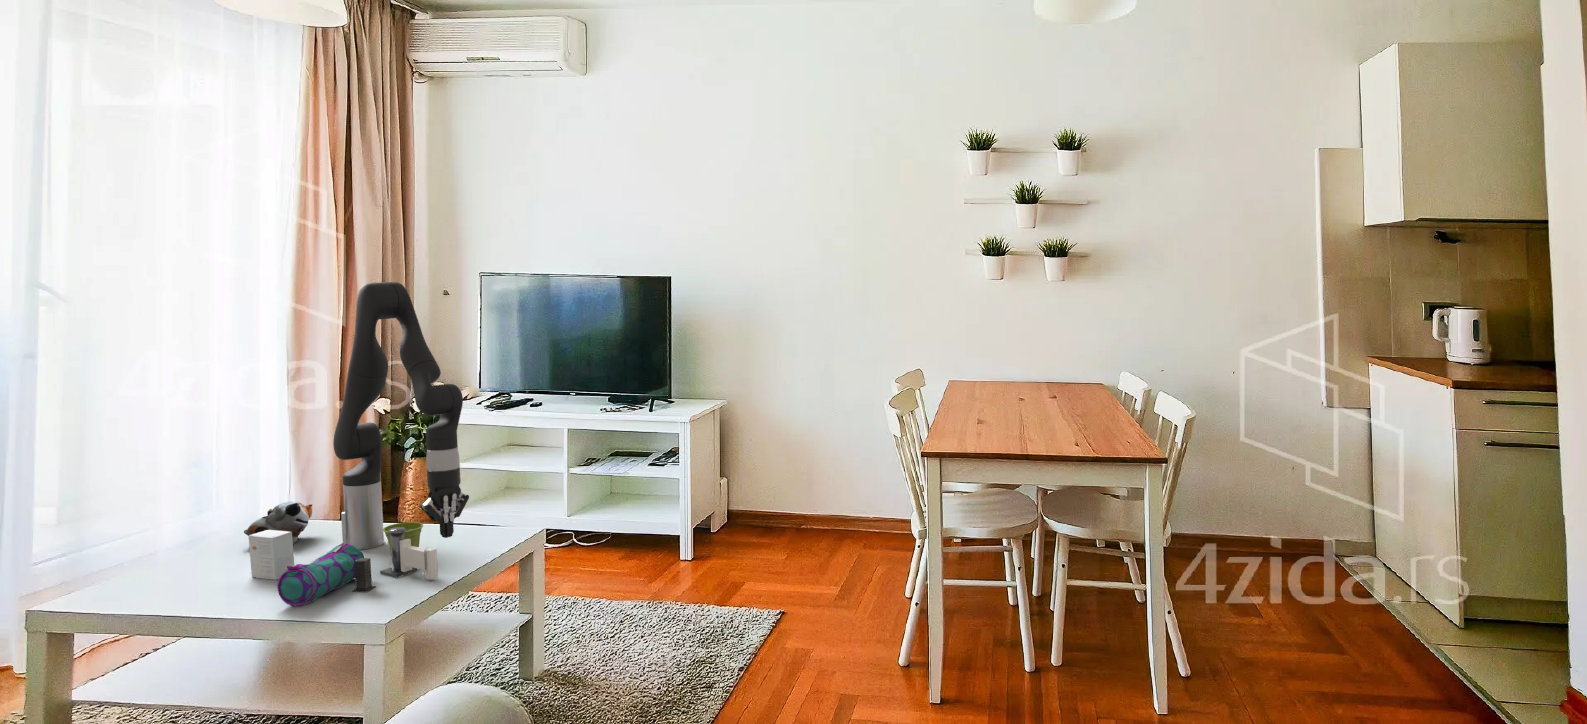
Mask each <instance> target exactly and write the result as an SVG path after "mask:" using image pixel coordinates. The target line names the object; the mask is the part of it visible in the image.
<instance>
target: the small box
mask: <svg viewBox="0 0 1587 724" xmlns="http://www.w3.org/2000/svg"><path fill="white" fill-rule="evenodd" d="M248 546H249V547H248V548H249V559H250V561H249V562H250V570H251V572H250V573H251V578H254V577H256V578H257V579H265V580H275V581H278V580H279V578H280V576H281V575H282V574H283V573H284V572H285V571H286V570H288V568H287V566H295V565H296V564H295V555H294V544H293V540H292V532H288V531H276V530H265V531H262V532H259V533H255V534H252V535H249V536H248ZM256 578H255V579H256Z"/></svg>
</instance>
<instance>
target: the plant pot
mask: <svg viewBox="0 0 1587 724" xmlns="http://www.w3.org/2000/svg"><path fill="white" fill-rule="evenodd" d="M396 527H404V528H405V532H404V539H411V546H415V547H420V540H421V539H420V538H421V533H422V529H423V527H424V523H421V522H417V521H409V522H408V521H407V522H398V523H393V524H390V525H387V526H385V527H383V533H385V537H386V539H387V543H388V547H389V550H390V551H389V552H390V553H391V538H390V534H388V530H389V529H391V528H396Z"/></svg>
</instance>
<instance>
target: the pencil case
mask: <svg viewBox="0 0 1587 724" xmlns="http://www.w3.org/2000/svg"><path fill="white" fill-rule="evenodd" d="M364 555H365V554H364V553H363V551H362V549H358V548H357V547H355V546H353V545H350V544H349V543H347V544H345V543H343V542H341V543H340V544H338V545H336V546H335V547H333V548H331V550H329V551H328V552H326V553H325V554H323V555H321V556H318V558H316V559H315V560H313V561H312V562H310V563H309V564H307V563H306V564H302V563H297V564H294V565H295V566H287V568H288V570H286V571H285V572H284V573H283V574H282V575H281V576H280V578H279V579H277V587H276V588H277V593H278V596H279V598H280V599H281V600H282V601H283V603H285V604H286V605H288V606H292V607H295V608H297V607H302V606H304V605H306V604H309V603H311V602H313V601H315V600H316V599H317V600H318V599H319V598H321V597H322V596H324V595H326V594H327V593H329V592H332V591H333V590H335V589H338V588H341V587H342V586H344V585H346V584H347V583H349V582H351V581H352V580H354V579H356V577H355V561H356V560H358V559H360V558H365V556H364Z"/></svg>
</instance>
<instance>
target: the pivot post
mask: <svg viewBox="0 0 1587 724" xmlns="http://www.w3.org/2000/svg"><path fill="white" fill-rule="evenodd" d="M404 532H405V528H404V527H396V528H391V529H389V530H388V534H390V538H391V552H390V557H391V567H388V568H385V569H382V570H380V571H379V572H380V573H379V574H380V575H383V576H387V577H391V578H394V579H395V578H396V577H397V578H400V577H402V576H403V577H404V576H406V575H410V574H412V572H413V573H416V572H418V571H419V569H417V568H413V567H412V570H409V571H406V572H402V571H401V560H400V541H401V540H404ZM397 578H396V579H397Z"/></svg>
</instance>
